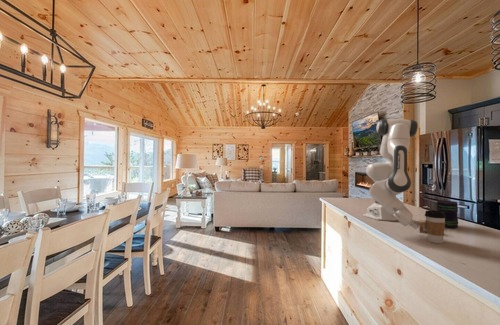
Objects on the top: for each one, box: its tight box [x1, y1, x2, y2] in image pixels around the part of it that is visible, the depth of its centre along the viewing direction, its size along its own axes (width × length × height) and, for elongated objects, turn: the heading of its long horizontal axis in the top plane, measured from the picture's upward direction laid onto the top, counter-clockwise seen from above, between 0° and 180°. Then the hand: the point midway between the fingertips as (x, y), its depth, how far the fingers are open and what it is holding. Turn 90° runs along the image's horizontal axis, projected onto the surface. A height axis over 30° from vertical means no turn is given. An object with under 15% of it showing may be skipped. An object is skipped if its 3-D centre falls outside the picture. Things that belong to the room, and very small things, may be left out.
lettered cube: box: [418, 219, 428, 235], centre depth 133 cm, size 6×6×6 cm
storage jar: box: [436, 200, 459, 230], centre depth 143 cm, size 10×10×15 cm
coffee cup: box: [424, 209, 446, 244], centre depth 118 cm, size 8×8×15 cm
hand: (417, 228), depth 122 cm, fingers closed
